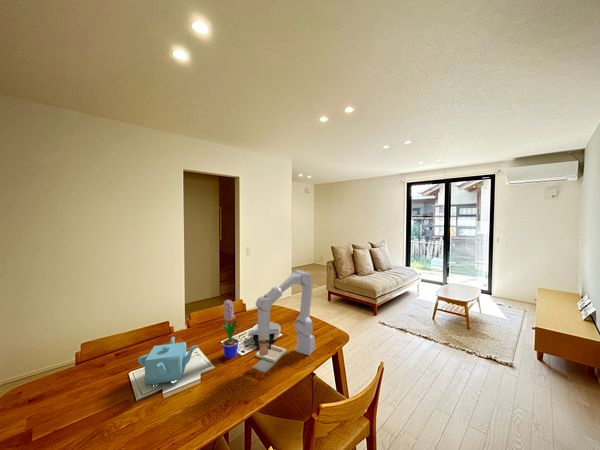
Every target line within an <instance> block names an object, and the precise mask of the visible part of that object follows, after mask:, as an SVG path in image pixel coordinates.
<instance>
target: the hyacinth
mask: <svg viewBox="0 0 600 450" xmlns="http://www.w3.org/2000/svg"><path fill="white" fill-rule="evenodd" d="M234 310H235V309H234V305H233V301H232V300H230V299H226V300H225V301H223V309H222V313H223V317H224V318H223V319H224V320H225V323H224V324H221V326H222V327H223V329H224V330H225V332H226V334H227V336H228V338H227V339H224V340H223V342H222V347H223V355H224V358H226V359H233V358H235V357H236V356H237V355H238V346H239V339H238V338H235V337H233V335H234V333H235V331H236V330H237V328H239V327H240V326H241V325H242V323H240V324H238V325H237V326H236V324H237V319H236V317H235V314H234V313H235V312H234ZM233 319H235V320H234V321H233V323H232V322H231V321H232V320H233Z"/></svg>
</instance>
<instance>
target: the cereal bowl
mask: <svg viewBox="0 0 600 450" xmlns="http://www.w3.org/2000/svg"><path fill="white" fill-rule="evenodd" d="M270 328H271V329H279V335H276V334H274V339H273V341H275V340H276V339H277V338H279V336H280V334H281V325H280V324H279V323H276V322H273V321H270ZM256 329H258V323H256V324H255V325H254V326H253V327H252V330H256ZM262 338H267V339H269V335H258V341H259V340H260V339H262Z"/></svg>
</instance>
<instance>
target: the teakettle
mask: <svg viewBox="0 0 600 450" xmlns="http://www.w3.org/2000/svg"><path fill="white" fill-rule="evenodd" d="M175 339H176V337H175V336H172V337H171V339H170V341H169V343H168V344H161V345H154V346H153V348H152V349H150V351H149V353H147V354H144V355H141V356H140V357H138V359H137V362H138V364H139V365H141V366H142V367H144V386H152V384H153V385H154V386H156V385H158V384H159V383H160V384H163V383H170V381H175V380H178V381H181V380H182V378H183V374H184V372H185V369H186V366H187V364H188V363H189V362H190V360H191V357H192V354H193V352H194V350H196V349H197V348H199V345H198V344H197V345H193V346H190V348H189V350H188V351H187V342H186V341H183V342H176V341H175ZM175 342H176V343H175ZM160 384H159V385H160ZM159 385H158V386H159ZM156 387H157V386H156Z"/></svg>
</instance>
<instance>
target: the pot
mask: <svg viewBox="0 0 600 450" xmlns="http://www.w3.org/2000/svg"><path fill="white" fill-rule="evenodd" d="M258 344H259V351H258V352H259V354H260V355H261V356H265V355H267V354H268V346H269V339H267V338H262V339H260V340H258Z"/></svg>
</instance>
